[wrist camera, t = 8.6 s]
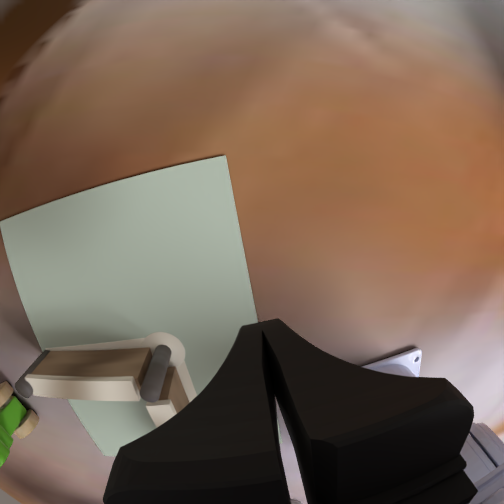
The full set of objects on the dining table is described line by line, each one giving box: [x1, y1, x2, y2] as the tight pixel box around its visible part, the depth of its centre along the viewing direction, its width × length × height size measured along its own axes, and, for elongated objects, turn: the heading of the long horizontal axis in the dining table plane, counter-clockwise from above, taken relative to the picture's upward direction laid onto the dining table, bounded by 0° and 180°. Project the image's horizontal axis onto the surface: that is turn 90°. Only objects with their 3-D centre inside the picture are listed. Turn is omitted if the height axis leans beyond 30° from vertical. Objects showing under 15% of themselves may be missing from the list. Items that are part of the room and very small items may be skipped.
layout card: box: [0, 155, 282, 456], centre depth 20 cm, size 24×18×1 cm
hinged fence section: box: [15, 347, 152, 401], centre depth 18 cm, size 10×2×5 cm, turn 97°
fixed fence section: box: [139, 345, 190, 427], centre depth 19 cm, size 12×2×5 cm, turn 10°
